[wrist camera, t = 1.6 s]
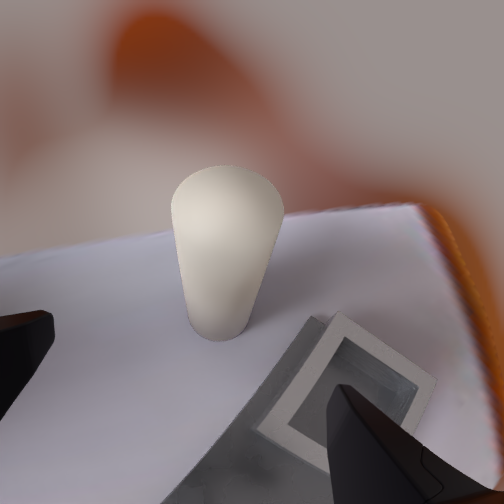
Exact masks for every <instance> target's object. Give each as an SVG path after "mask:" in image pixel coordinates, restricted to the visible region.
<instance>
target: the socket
mask: <svg viewBox="0 0 504 504" xmlns="http://www.w3.org/2000/svg"><path fill="white" fill-rule="evenodd" d="M436 382H437V379H436V378H434V377H433V376H431V375H430V374H429V373H427V372H426V371H424V370H423V369H421V368H420V367H418V366H417V365H416V364H414V363H413V362H411V361H410V360H408V359H407V358H406V357H404V356H403V355H401V354H400V353H398V352H397V351H395V350H394V349H393V348H391V347H390V346H388V345H387V344H385V343H384V342H382V341H381V340H380V339H378V338H377V337H375V336H374V335H372V334H371V333H370V332H368V331H367V330H365V329H364V328H362V327H361V326H359V325H358V324H357V323H355V322H354V321H352V320H351V319H349V318H348V317H346V316H345V315H344V314H342V313H341V312H339V311H338V312H337V313H336V314H335V315H333V316H332V317H331V318H330V319H329V320H328V321H327V322H326V323H325V324H322V323H321V322H319V321H318V320H317V319H315V318H314V317H312V316H311V317H310V318H309V319H308V320H307V322H306V323H305V325H304V326H303V328H302V329H301V331H300V332H299V333H298V335H297V336H296V338H295V339H294V341H293V342H292V343H291V345H290V346H289V348H288V349H287V350H286V352H285V353H284V355H283V356H282V357H281V359H280V360H279V362H278V363H277V364H276V366H275V367H274V368H273V370H272V371H271V372H270V374H269V375H268V376H267V378H266V379H265V380H264V382H263V383H262V384H261V386H260V387H259V388H258V390H257V391H256V392H255V394H254V395H253V396H252V398H251V399H250V400H249V401H248V403H247V404H246V405H245V407H244V408H243V409H242V410H241V412H240V413H239V414H238V415H237V417H236V418H235V419H234V420H233V422H232V423H231V424H230V425H229V427H228V428H227V429H226V430H225V431H224V433H223V434H222V435H221V436H220V437H219V439H218V440H217V441H216V442H215V443H214V445H213V446H212V447H211V448H210V449H209V451H208V452H207V453H206V454H205V455H204V456H203V458H202V459H201V460H200V461H199V462H198V463H197V464H196V466H195V467H194V468H193V469H192V470H191V471H190V472H189V473H188V475H187V476H186V477H185V478H184V479H183V480H182V481H181V482H180V483H179V485H178V486H177V487H176V488H175V489H174V490H173V491H172V492H171V493H170V494H169V495H168V496H167V497H166V498H165V500H164V501H163V502H162V503H161V504H334V501H333V493H332V485H331V477H330V470H329V463H328V455H327V427H326V408H327V404H328V401H329V399H330V397H331V395H332V393H333V390H334V388H335V386H336V385H337V384H348V385H351V386H352V387H353V388H355V389H356V390H357V391H358V392H359V393H360V394H362V395H363V396H364V397H365V398H366V399H368V400H369V401H370V402H371V403H372V404H374V405H375V406H376V407H377V408H378V409H380V410H381V411H382V412H383V413H384V414H386V415H387V416H388V417H389V418H391V419H392V420H393V421H394V422H395V423H397V424H398V425H399V426H400V427H402V428H403V429H404V430H405V431H406V432H408V433H409V434H410V435H411V436H412V435H413V433H414V431H415V429H416V427H417V425H418V423H419V421H420V419H421V417H422V415H423V413H424V410H425V408H426V406H427V404H428V401H429V399H430V397H431V394H432V392H433V390H434V387H435V385H436Z"/></svg>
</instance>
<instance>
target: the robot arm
mask: <svg viewBox="0 0 504 504" xmlns="http://www.w3.org/2000/svg"><path fill="white" fill-rule="evenodd" d="M54 339H55V331H54V318H53V315H52V314H51V313H49V312H47V311H44V310H38V311H32V312H25V313H19V314H13V315H7V316H0V421H1V419H2V418H3V416H4V415H5V414H6V412H7V411H8V409H9V408H10V406H11V405H12V404H13V402H14V401H15V399H16V398H17V397H18V395H19V394H20V393H21V391H22V390H23V388H24V387H25V386H26V384H27V383H28V382H29V380H30V379H31V378H32V376H33V375H34V373H35V372H36V370H37V368H38V367H39V365H40V363H41V362H42V360H43V358H44V357H45V355H46V354H47V352H48V350H49V349H50V347H51V346H52V344H53V342H54ZM326 427H327V455H328V463H329V470H330V477H331V485H332V493H333V501H334V504H504V491H495V490H491V489H489V488H486V487H485V486H483V485H481V484H479V483H478V482H476V481H475V480H473V479H471V478H470V477H468V476H466V475H465V474H463V473H462V472H460V471H458V470H457V469H455V468H454V467H452V466H451V465H449V464H448V463H446V462H445V461H443V460H442V459H441V458H439V457H438V456H437V455H435V454H434V453H433V452H431V451H430V450H429V449H428V448H427V447H425V446H423V444H421V443H420V442H419V441H418V440H416V439H415V438H414V437H413V436H411V435H410V434H409V433H408V432H406V431H405V430H404V429H403V428H402V427H400V426H399V425H398V424H397V423H395V422H394V421H393V420H392V419H391V418H389V417H388V416H387V415H386V414H384V413H383V412H382V411H381V410H380V409H378V408H377V407H376V406H375V405H374V404H372V403H371V402H370V401H369V400H368V399H366V398H365V397H364V396H363V395H362V394H360V393H359V392H358V391H357V390H356V389H355V388H353V387H352V386H351V385H348V384H337V385H336V386H335V388H334V390H333V393H332V395H331V397H330V399H329V401H328V404H327V408H326Z"/></svg>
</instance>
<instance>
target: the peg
mask: <svg viewBox="0 0 504 504" xmlns="http://www.w3.org/2000/svg"><path fill="white" fill-rule="evenodd" d="M171 214H172V221H173V228H174V235H175V242H176V249H177V255H178V261H179V267H180V273H181V279H182V285H183V291H184V296H185V302H186V307H187V312H188V318H189V321H190V324H191V326H192V327H193V329H194V330H195V331H196V332H197V333H198V334H199V335H200V336H202V337H204V338H205V339H208V340H211V341H218V342H220V341H227V340H231V339H233V338H235V337H236V336H238V335H239V334H240V333H241V332H242V331H243V330H244V329H245V327H246V325H247V323H248V320H249V317H250V314H251V312H252V309H253V306H254V303H255V300H256V297H257V294H258V292H259V289H260V286H261V283H262V280H263V277H264V274H265V271H266V268H267V266H268V263H269V260H270V257H271V254H272V251H273V248H274V245H275V242H276V239H277V236H278V233H279V230H280V227H281V224H282V221H283V217H284V206H283V202H282V199H281V196H280V195H279V193H278V191H277V189H276V188H275V187H274V186H273V185H272V183H271V182H269V181H268V180H267V179H266V178H264V177H263V176H261V175H260V174H258V173H256V172H254V171H252V170H249V169H246V168H243V167H238V166H229V165H221V166H213V167H208V168H205V169H202V170H199V171H197V172H195V173H193V174H191V175H190V176H189V177H187V178H186V179H185V180H184V181H183V182H182V183H181V184H180V185H179V186H178V188H177V189H176V191H175V193H174V195H173V198H172V202H171Z"/></svg>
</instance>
